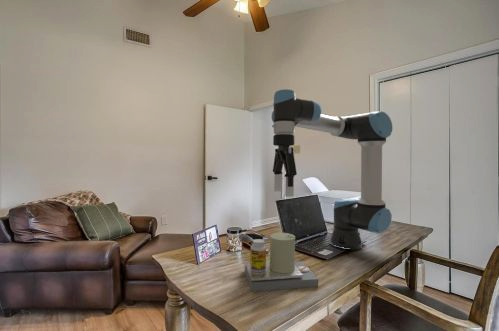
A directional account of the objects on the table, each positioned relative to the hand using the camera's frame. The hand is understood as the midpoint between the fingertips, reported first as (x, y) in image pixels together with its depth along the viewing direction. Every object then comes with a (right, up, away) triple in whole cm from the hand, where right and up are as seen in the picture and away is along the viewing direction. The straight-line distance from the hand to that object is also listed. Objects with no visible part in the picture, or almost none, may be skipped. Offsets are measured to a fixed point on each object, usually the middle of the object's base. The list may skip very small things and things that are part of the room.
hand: (283, 193), depth 90 cm
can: (0, -27, +1) cm, 27 cm away
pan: (-4, -28, 0) cm, 28 cm away
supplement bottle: (-9, -27, -1) cm, 29 cm away
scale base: (-1, -31, +1) cm, 31 cm away
